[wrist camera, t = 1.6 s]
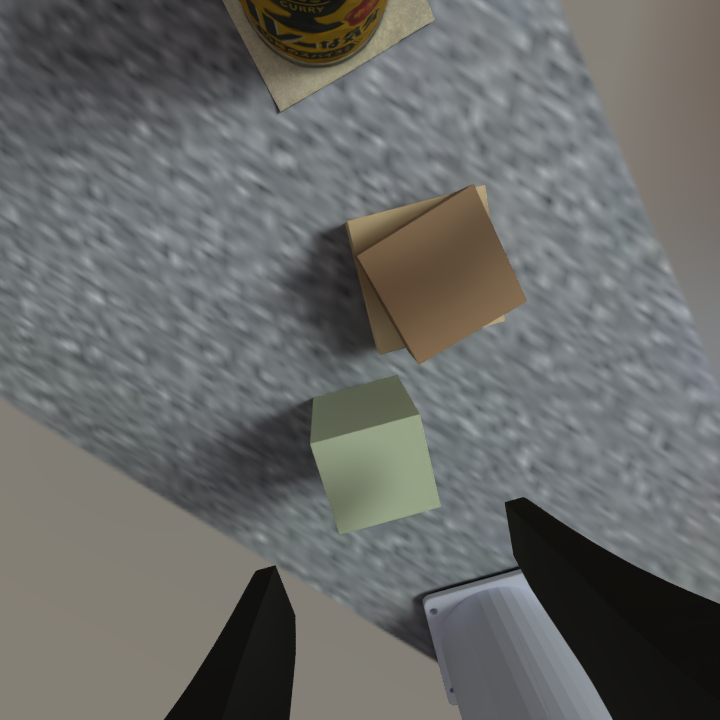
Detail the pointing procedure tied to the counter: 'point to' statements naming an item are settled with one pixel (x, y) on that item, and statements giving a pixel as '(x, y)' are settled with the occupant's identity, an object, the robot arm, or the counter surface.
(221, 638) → the robot arm
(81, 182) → the counter surface
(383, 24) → the condiment
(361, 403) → the sage block
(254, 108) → the counter surface
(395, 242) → the walnut slab
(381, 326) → the oak slab
